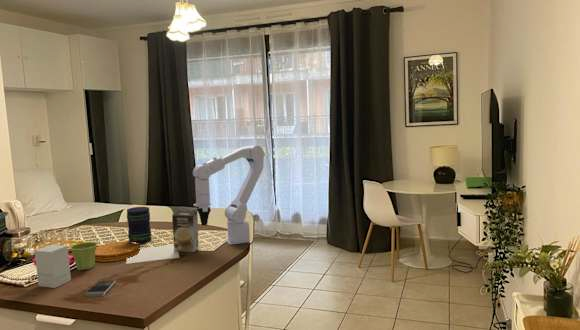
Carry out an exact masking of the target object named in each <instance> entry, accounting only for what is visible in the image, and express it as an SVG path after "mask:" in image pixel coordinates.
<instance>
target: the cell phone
mask: <svg viewBox="0 0 580 330" xmlns="http://www.w3.org/2000/svg"><path fill="white" fill-rule="evenodd" d="M115 285H116V280H101V281H97V282H96V283H95V284H94V285H93V286H91V288H90V289H89V290H87V291H86V293H85V298H94V297H98V298H99V297H101V298H102V297H104V296H105V295H106V294H108V292H109V291H110V290H111V289H112V288H113V287H114V286H115Z"/></svg>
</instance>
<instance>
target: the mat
mask: <svg viewBox="0 0 580 330" xmlns="http://www.w3.org/2000/svg"><path fill="white" fill-rule="evenodd" d="M139 249H140V251H139V253H138V254H137V255H135V256H133V257H130V258H127V257H126V262H125V264H126V265H132V264H140V263H141V264H142V263H147V262H148V263H149V262H156V261H157V260H158V261H163V260H164V261H165V260H173V259H180V254H179V253H180V252H179V251H174V244H169V245H161V246H160V245H159V246H152V247H151V246H150V247H142V248H141V247H140V248H139Z"/></svg>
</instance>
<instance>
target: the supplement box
mask: <svg viewBox="0 0 580 330" xmlns="http://www.w3.org/2000/svg"><path fill="white" fill-rule="evenodd" d="M34 257H35V265H36V266H35V267H36V268H35V269H36V275H37V285H38V287H42V288H52V289H55V288H57V287H60V286H62V285H64V284H66V283H68V282H71V281H72V277H71V268H70V259H69V257H70V256H69V248H68V245H59V244H50V245H47V246H44V247H42V248H38V249H36V250H35V251H34Z"/></svg>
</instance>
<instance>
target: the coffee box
mask: <svg viewBox="0 0 580 330" xmlns="http://www.w3.org/2000/svg"><path fill="white" fill-rule="evenodd" d="M198 215H199V214H198V211H197V210H196V211H194V210H183V209H182V210H181V209H180V210H179V209H177V210H175V212H174V213H173V214H172V215H171V216H172V234H173V235H172V237H173V245H174V251H178V252H179V253H180V252H183V253H195V252H196V251H197V249H198V248H199V246H200V245H199V225H198V224H199V221H198V220H199V219H198Z"/></svg>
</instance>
